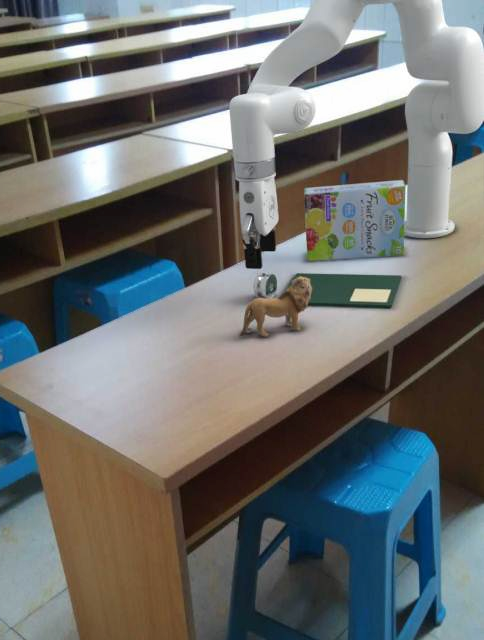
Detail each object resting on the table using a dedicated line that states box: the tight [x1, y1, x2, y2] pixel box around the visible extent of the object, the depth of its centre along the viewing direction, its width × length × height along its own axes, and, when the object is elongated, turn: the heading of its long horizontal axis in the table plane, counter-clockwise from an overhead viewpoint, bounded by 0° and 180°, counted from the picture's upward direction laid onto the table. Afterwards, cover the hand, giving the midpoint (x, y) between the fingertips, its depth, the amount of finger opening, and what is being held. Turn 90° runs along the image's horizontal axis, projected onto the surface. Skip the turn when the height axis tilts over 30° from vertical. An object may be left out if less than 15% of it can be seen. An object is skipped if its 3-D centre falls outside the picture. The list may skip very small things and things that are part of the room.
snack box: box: [303, 179, 407, 262], centre depth 156 cm, size 21×6×15 cm, turn 84°
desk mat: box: [283, 272, 402, 309], centre depth 144 cm, size 15×22×1 cm
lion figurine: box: [238, 277, 312, 338], centre depth 129 cm, size 15×5×9 cm, turn 110°
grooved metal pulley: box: [253, 272, 278, 299], centre depth 144 cm, size 5×3×5 cm, turn 150°
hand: (261, 259), depth 140 cm, fingers open, 9 cm apart
